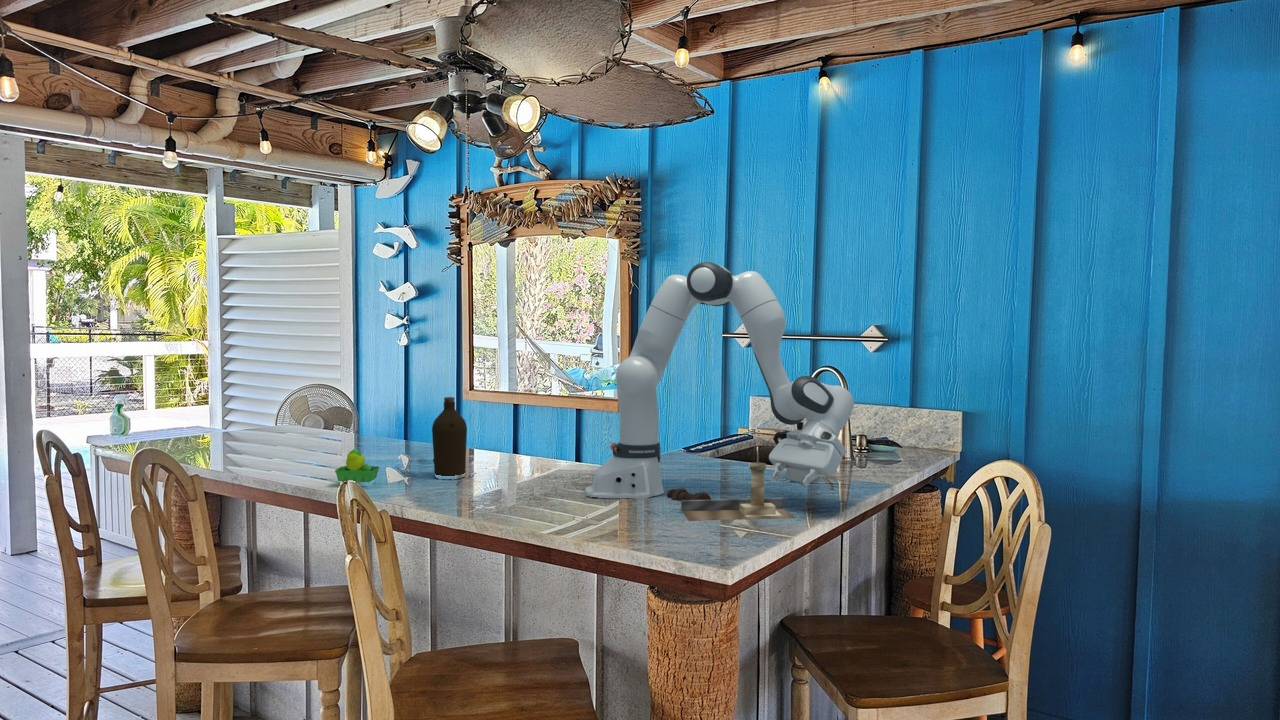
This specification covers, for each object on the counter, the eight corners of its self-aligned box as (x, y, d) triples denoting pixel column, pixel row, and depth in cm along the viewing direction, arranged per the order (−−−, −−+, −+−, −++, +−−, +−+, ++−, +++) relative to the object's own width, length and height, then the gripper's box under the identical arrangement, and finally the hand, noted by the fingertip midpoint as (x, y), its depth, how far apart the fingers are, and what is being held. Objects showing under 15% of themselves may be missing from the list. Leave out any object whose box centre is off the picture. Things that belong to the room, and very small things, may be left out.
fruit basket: (380, 482, 251) (380, 445, 251) (372, 488, 243) (371, 450, 242) (342, 482, 251) (341, 445, 250) (332, 488, 242) (332, 450, 242)
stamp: (743, 515, 202) (744, 465, 201) (739, 511, 206) (739, 462, 205) (775, 514, 203) (776, 464, 202) (770, 510, 207) (771, 462, 206)
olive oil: (474, 476, 260) (473, 397, 259) (447, 481, 252) (446, 399, 251) (452, 472, 267) (452, 395, 266) (425, 477, 259) (424, 397, 258)
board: (688, 527, 197) (688, 510, 196) (680, 515, 209) (680, 499, 208) (795, 523, 200) (795, 507, 200) (781, 512, 212) (781, 496, 211)
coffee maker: (824, 480, 255) (824, 421, 254) (814, 484, 248) (815, 424, 247) (778, 475, 263) (778, 418, 262) (767, 479, 255) (768, 421, 255)
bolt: (673, 508, 225) (706, 517, 213) (660, 500, 223) (691, 509, 210) (682, 488, 227) (715, 496, 214) (668, 481, 225) (700, 488, 212)
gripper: (780, 428, 222) (753, 468, 217) (840, 436, 206) (813, 480, 201) (791, 443, 225) (765, 483, 220) (851, 452, 209) (825, 496, 204)
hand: (788, 482), depth 210 cm, fingers open, 8 cm apart
